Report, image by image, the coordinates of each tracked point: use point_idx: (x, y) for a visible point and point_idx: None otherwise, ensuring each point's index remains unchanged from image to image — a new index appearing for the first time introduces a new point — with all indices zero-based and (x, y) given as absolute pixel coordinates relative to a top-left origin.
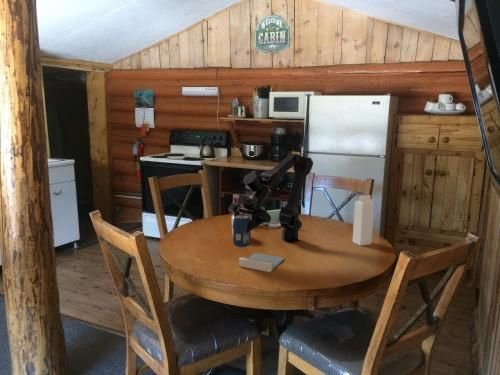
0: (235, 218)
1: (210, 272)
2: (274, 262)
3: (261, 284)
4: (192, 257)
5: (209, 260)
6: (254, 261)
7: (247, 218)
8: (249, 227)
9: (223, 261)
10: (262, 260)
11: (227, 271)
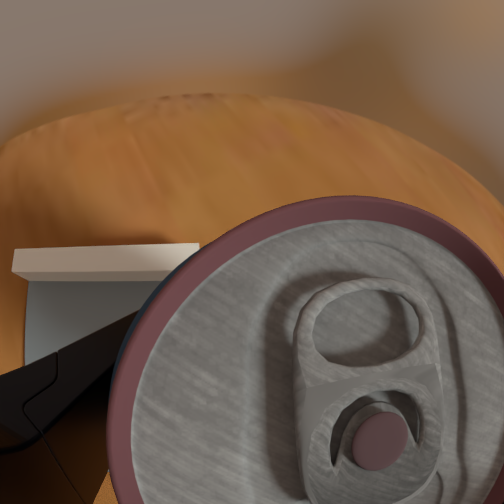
0: (451, 250)
1: (284, 138)
2: None
3: (49, 144)
4: None
5: None
6: (94, 247)
7: (116, 400)
8: (103, 334)
9: None
10: None
11: (221, 175)
